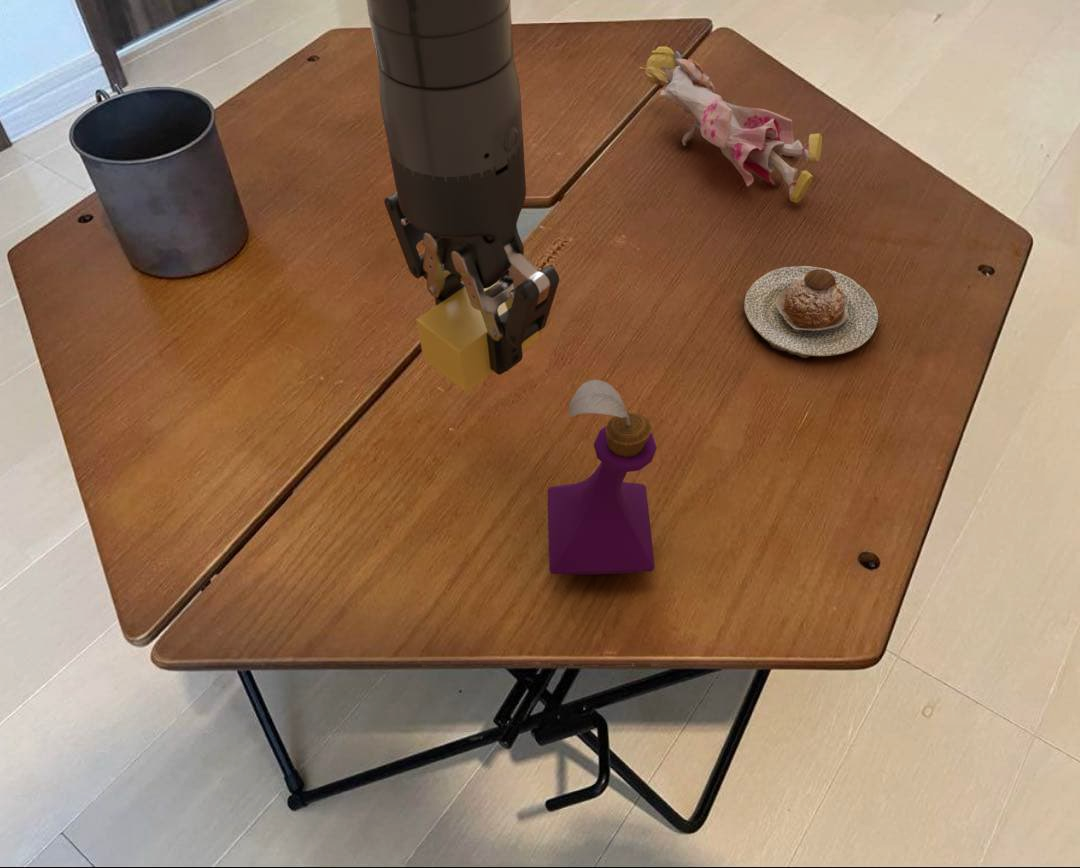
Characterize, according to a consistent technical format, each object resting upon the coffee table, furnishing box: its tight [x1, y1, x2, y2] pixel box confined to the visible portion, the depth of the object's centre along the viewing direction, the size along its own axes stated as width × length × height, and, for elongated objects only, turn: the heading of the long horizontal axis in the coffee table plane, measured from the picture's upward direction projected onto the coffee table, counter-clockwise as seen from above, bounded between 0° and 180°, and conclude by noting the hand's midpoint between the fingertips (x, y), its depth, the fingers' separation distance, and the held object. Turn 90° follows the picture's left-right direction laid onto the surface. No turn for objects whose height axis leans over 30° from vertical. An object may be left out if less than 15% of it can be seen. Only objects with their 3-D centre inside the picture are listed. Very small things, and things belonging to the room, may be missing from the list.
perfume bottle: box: [546, 379, 657, 576], centre depth 62 cm, size 8×8×18 cm
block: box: [415, 281, 539, 393], centre depth 62 cm, size 7×4×4 cm, turn 135°
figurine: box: [638, 46, 823, 204], centre depth 96 cm, size 12×12×25 cm
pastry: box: [743, 265, 879, 359], centre depth 82 cm, size 12×12×5 cm
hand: (481, 347), depth 63 cm, fingers closed on block, 4 cm apart
